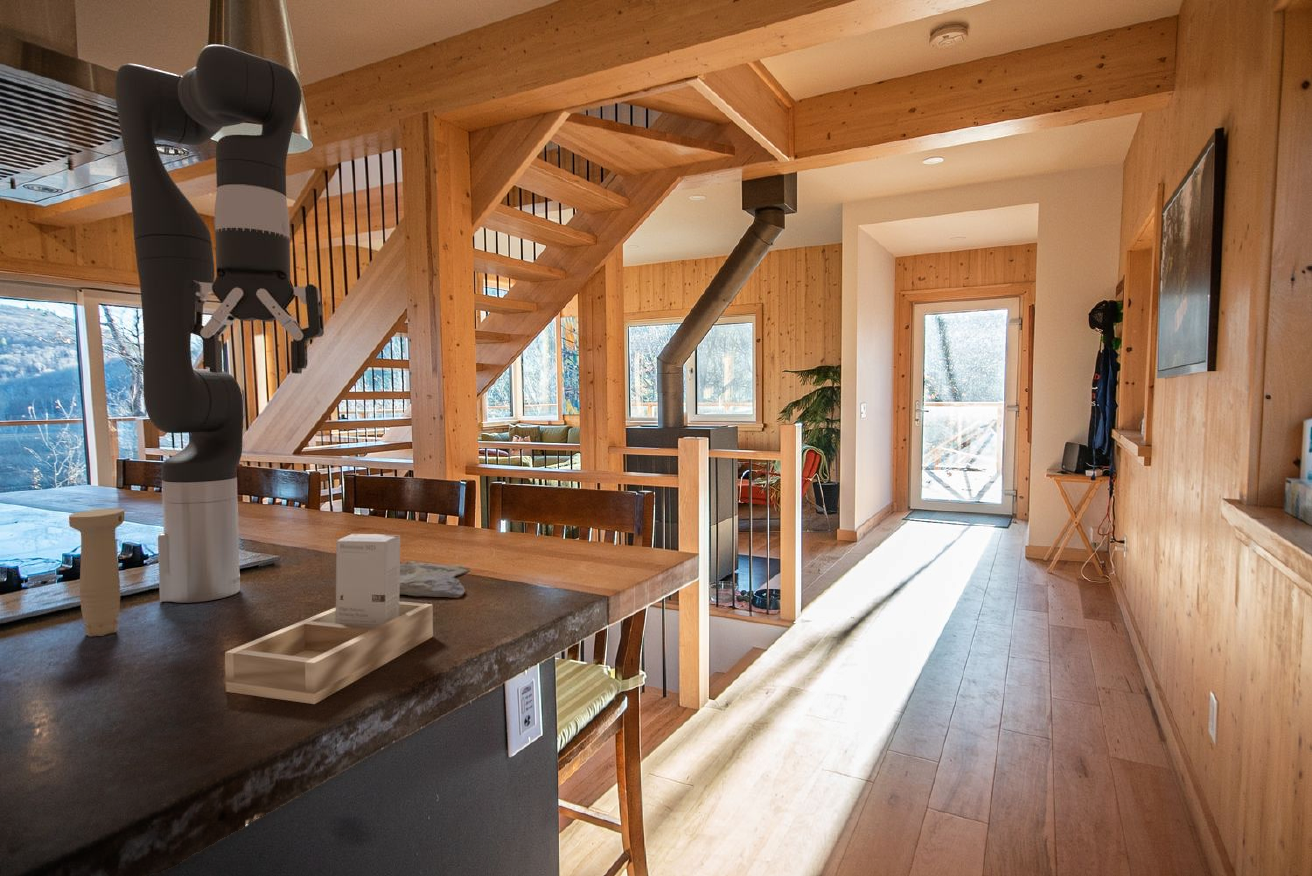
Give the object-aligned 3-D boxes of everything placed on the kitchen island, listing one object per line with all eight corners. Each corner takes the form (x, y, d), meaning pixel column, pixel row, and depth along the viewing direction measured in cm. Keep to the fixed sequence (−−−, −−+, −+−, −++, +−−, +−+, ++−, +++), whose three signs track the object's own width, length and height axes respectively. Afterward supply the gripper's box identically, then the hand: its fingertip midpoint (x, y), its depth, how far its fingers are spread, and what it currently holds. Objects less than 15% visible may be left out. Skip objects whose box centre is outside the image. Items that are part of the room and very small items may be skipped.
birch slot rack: (314, 704, 67) (313, 663, 67) (226, 691, 70) (224, 652, 70) (432, 636, 87) (432, 604, 86) (359, 628, 89) (359, 597, 89)
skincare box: (333, 645, 80) (331, 540, 80) (352, 632, 85) (350, 532, 84) (386, 646, 80) (385, 541, 79) (402, 633, 85) (401, 533, 84)
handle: (63, 643, 83) (58, 517, 82) (94, 626, 90) (89, 509, 89) (110, 640, 84) (105, 516, 83) (137, 623, 91) (133, 508, 90)
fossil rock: (400, 572, 120) (400, 559, 120) (487, 573, 121) (487, 559, 121) (358, 601, 103) (358, 585, 103) (461, 602, 103) (461, 586, 103)
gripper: (326, 243, 87) (328, 375, 88) (195, 235, 83) (199, 373, 84) (313, 229, 80) (316, 372, 81) (169, 220, 76) (174, 370, 77)
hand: (256, 372), depth 83 cm, fingers open, 8 cm apart
